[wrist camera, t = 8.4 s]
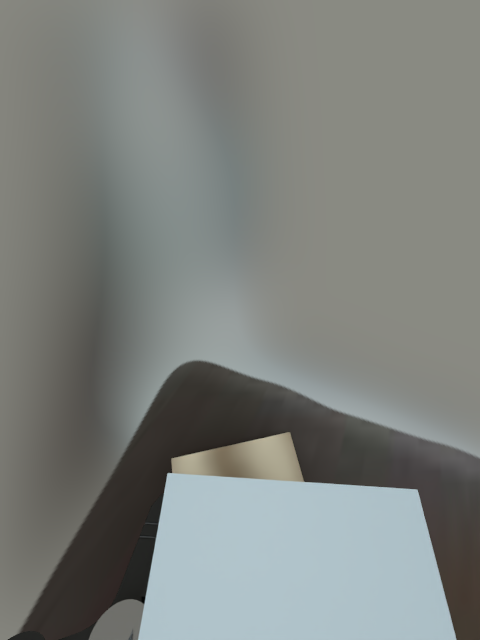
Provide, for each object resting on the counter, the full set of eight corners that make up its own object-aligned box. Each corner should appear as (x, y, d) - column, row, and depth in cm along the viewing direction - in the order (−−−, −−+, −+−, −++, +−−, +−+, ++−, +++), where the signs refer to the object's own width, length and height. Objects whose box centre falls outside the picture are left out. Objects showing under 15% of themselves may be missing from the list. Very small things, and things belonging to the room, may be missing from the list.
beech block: (283, 437, 28) (289, 432, 25) (321, 577, 22) (335, 592, 19) (178, 461, 26) (171, 458, 23) (189, 617, 20) (182, 640, 17)
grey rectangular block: (303, 487, 14) (417, 489, 5) (311, 629, 11) (579, 1109, 3) (207, 481, 14) (167, 472, 5) (193, 621, 11) (63, 1063, 3)
